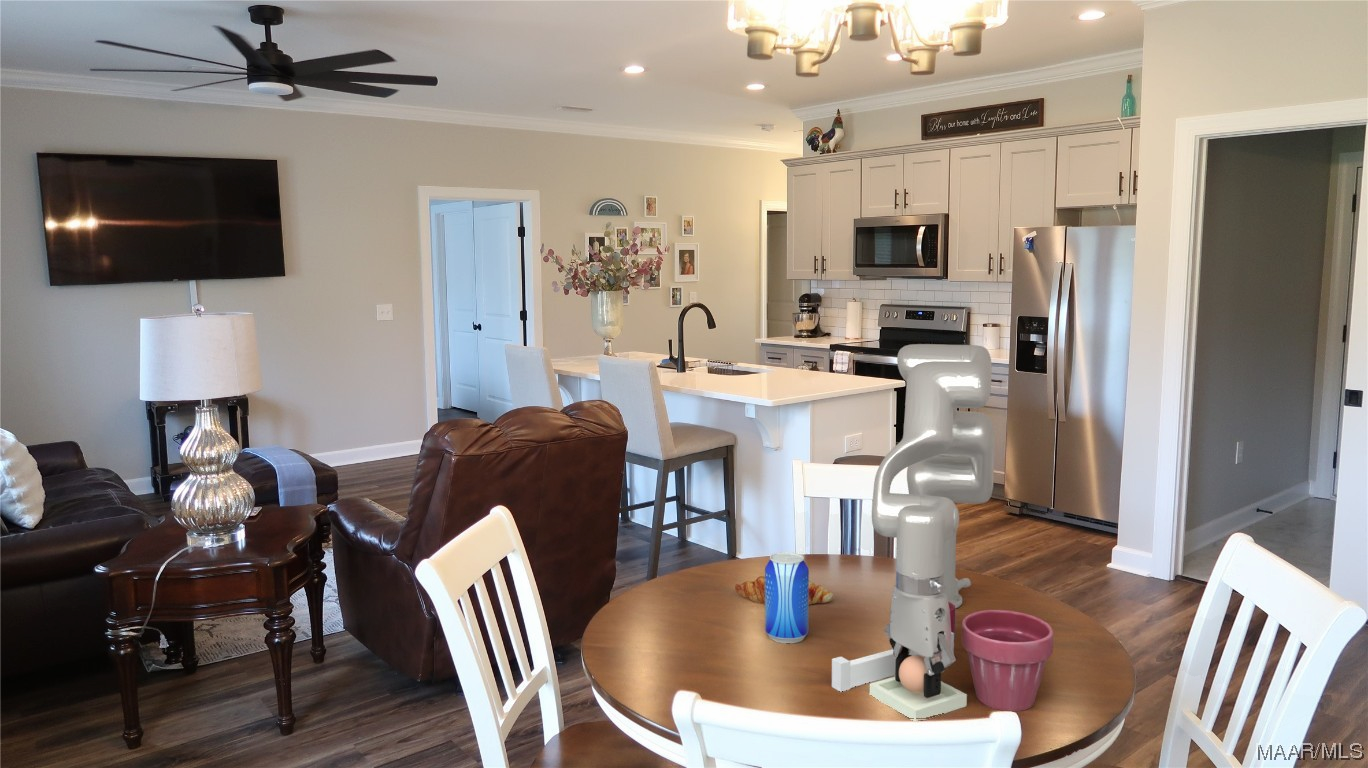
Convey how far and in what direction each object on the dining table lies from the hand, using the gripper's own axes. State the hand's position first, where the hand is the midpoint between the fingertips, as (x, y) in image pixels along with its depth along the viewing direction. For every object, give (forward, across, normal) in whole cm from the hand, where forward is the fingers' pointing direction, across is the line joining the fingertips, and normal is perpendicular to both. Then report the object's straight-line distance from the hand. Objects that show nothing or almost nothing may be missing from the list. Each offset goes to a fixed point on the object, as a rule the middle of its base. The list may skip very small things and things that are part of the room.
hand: (917, 686), depth 151 cm
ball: (+1, 0, 0) cm, 1 cm away
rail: (+2, +10, -4) cm, 11 cm away
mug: (+3, +16, -20) cm, 26 cm away
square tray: (+2, 0, 0) cm, 2 cm away
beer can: (+3, +33, +3) cm, 33 cm away
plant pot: (+3, -7, -13) cm, 15 cm away
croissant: (+3, +49, -8) cm, 50 cm away
